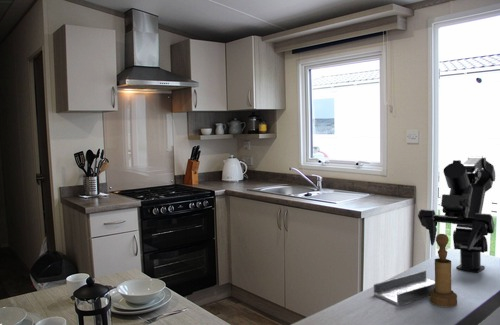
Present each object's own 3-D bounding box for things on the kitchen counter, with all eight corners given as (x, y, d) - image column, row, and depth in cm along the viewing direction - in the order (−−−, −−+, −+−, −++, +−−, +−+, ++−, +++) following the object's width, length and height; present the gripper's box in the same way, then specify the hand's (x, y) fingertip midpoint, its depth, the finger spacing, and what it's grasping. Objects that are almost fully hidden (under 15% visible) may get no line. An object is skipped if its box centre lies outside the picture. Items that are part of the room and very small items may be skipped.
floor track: (424, 280, 127) (424, 270, 127) (451, 289, 119) (451, 279, 119) (373, 294, 118) (373, 284, 118) (398, 305, 110) (398, 294, 110)
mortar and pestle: (460, 308, 107) (459, 237, 106) (432, 307, 109) (431, 237, 107) (453, 297, 114) (452, 231, 112) (427, 296, 115) (426, 231, 114)
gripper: (419, 181, 124) (407, 226, 116) (492, 184, 112) (483, 234, 105) (428, 204, 131) (417, 248, 123) (497, 208, 119) (490, 257, 111)
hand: (449, 246), depth 115 cm, fingers open, 9 cm apart
